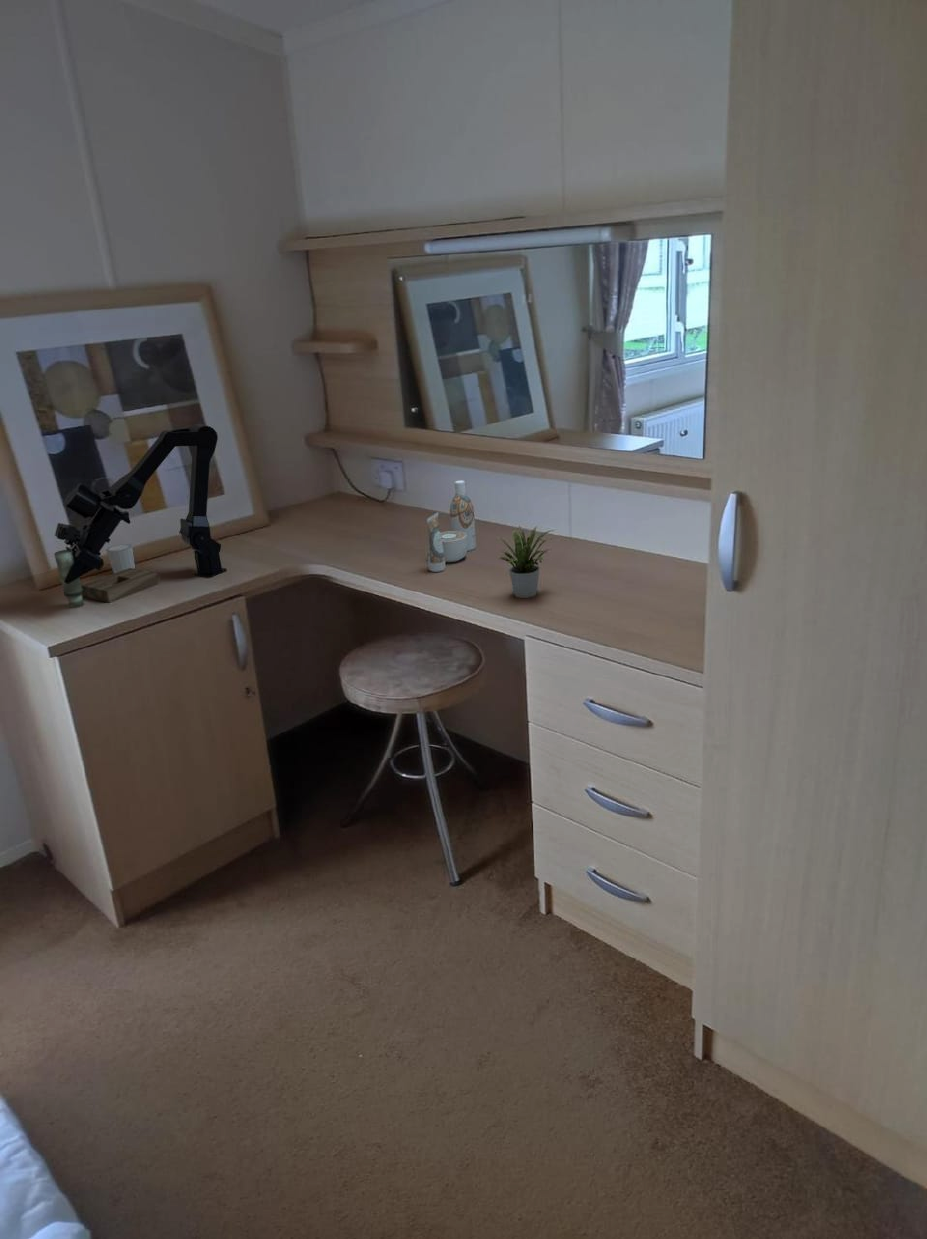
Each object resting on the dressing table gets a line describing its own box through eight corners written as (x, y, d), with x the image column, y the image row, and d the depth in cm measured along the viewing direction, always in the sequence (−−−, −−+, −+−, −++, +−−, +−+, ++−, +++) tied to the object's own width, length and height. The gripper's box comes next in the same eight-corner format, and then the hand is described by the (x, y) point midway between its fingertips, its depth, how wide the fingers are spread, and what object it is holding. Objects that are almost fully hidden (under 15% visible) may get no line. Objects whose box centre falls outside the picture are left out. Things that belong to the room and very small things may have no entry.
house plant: (573, 592, 206) (572, 524, 200) (534, 609, 198) (531, 539, 191) (528, 580, 216) (525, 515, 210) (488, 596, 207) (484, 529, 201)
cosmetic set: (448, 575, 224) (442, 503, 217) (415, 573, 227) (408, 501, 220) (484, 546, 245) (480, 479, 238) (453, 544, 248) (448, 478, 241)
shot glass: (110, 577, 242) (104, 552, 239) (112, 569, 248) (107, 545, 245) (136, 573, 243) (131, 549, 241) (138, 566, 249) (133, 542, 247)
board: (158, 583, 233) (156, 573, 232) (109, 602, 222) (107, 591, 221) (132, 578, 239) (130, 567, 238) (83, 596, 228) (80, 585, 227)
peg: (89, 603, 222) (76, 550, 217) (74, 609, 219) (60, 555, 214) (79, 601, 225) (66, 548, 219) (63, 607, 221) (50, 553, 216)
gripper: (64, 503, 222) (28, 555, 221) (78, 517, 207) (39, 573, 206) (104, 527, 229) (69, 577, 228) (119, 542, 214) (82, 596, 213)
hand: (64, 580), depth 218 cm, fingers closed on peg, 4 cm apart
